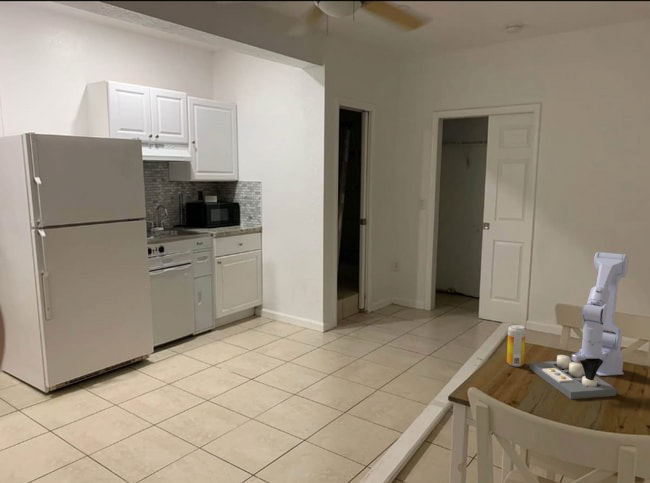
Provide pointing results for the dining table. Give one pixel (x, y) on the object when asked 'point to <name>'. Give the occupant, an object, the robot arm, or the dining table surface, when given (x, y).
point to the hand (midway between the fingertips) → (589, 378)
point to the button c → (589, 382)
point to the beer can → (516, 345)
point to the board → (573, 383)
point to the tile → (557, 375)
